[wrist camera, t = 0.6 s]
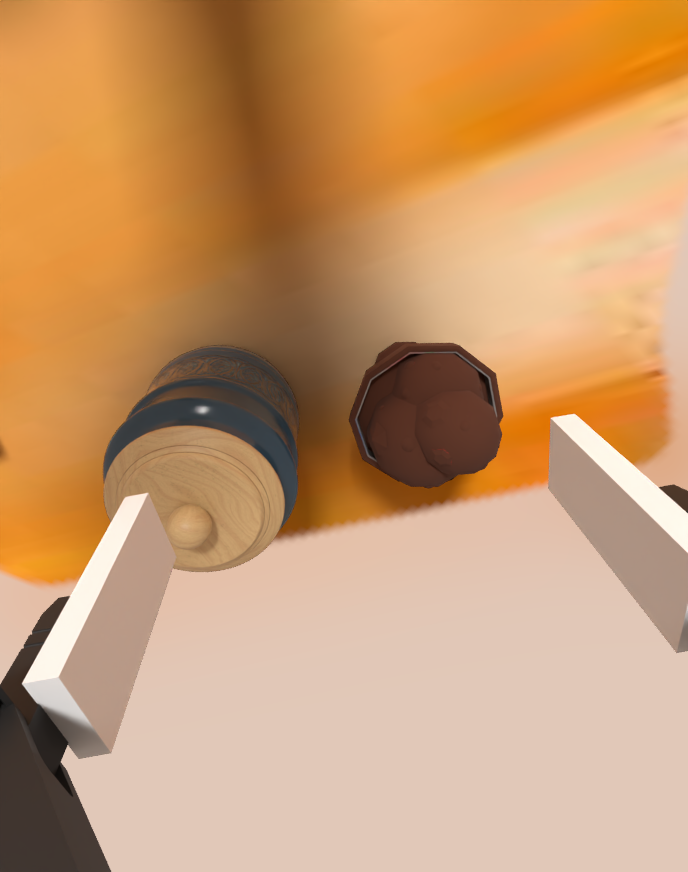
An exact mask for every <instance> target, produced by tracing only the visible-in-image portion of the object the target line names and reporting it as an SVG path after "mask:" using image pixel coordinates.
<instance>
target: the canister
mask: <svg viewBox="0 0 688 872" xmlns="http://www.w3.org/2000/svg"><path fill="white" fill-rule="evenodd" d="M298 432H299V412H298V407H297V403H296V400H295V397H294V394H293V392H292V390H291V388H290V387H289V385H288V383H287V381H286V380H285V378H284V377H283V376H282V374H281V373H280V372H279V371H278V370H277V369H276V368H275V367H274V366H273V365H272V364H271V363H269V362H268V361H267V360H265V359H264V358H262V357H261V356H259V355H257V354H255V353H253V352H250V351H248V350H245V349H242V348H238V347H233V346H224V345H215V346H206V347H201V348H198V349H195V350H192V351H189V352H187V353H185V354H182V355H180V356H179V357H177V358H175V359H174V360H172V361H171V362H170V363H168V364H167V365H166V366H165V367H164V368H163V369H162V370H161V371H160V372H159V374H158V375H157V376H156V377H155V379H154V380H153V382H152V383H151V385H150V387H149V389H148V391H147V394H146V396H144V397H143V398H142V399H141V400H140V401H139V402H138V403H137V404H136V405H135V406H134V408H133V409H132V410H131V412H130V413H129V415H128V417H127V419H126V421H125V422H124V423H123V424H122V425H121V426H120V427H119V429H118V430H117V431H116V432H115V434H114V435H113V437H112V439H111V440H110V442H109V445H108V447H107V450H106V453H105V457H104V463H103V479H104V503H105V508H106V512H107V514H108V517H109V519H110V521H111V522H112V520H113V518H114V516H115V514H116V513H117V511H118V509H119V507H120V505H121V504H122V502H123V500H124V498H125V497H128V496H133V495H139V494H144V493H149V496H150V498H151V500H152V502H153V505H154V507H155V509H156V511H157V514H158V516H159V518H160V521H161V523H162V525H163V527H164V530H165V532H166V534H167V537H168V539H169V541H170V543H171V546H172V548H173V550H174V553H175V555H176V559H175V562H174V565H173V568H174V569H178V570H183V571H191V572H212V571H220V570H225V569H229V568H232V567H236V566H238V565H241V564H243V563H245V562H247V561H249V560H251V559H253V558H254V557H256V556H257V555H259V554H260V553H261V552H262V551H263V550H265V549H266V548H267V546H269V544H270V543H271V542H272V541H273V539H274V538H275V536H276V535H277V533H278V531H279V530H280V529H281V528H282V526H283V525H284V524H285V523H286V521H287V519H288V518H289V516H290V514H291V512H292V510H293V508H294V505H295V502H296V498H297V493H298V475H297V469H298V451H297V445H296V441H297V438H298Z"/></svg>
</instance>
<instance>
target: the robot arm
mask: <svg viewBox="0 0 688 872" xmlns="http://www.w3.org/2000/svg"><path fill="white" fill-rule="evenodd" d="M548 488H549V490H550V491H551V493H552V494H553V495H554V496H555V498H556V499H557V500H558V501H559V503H560V504H561V505H562V507H563V508H564V509H565V510H566V512H567V513H568V514H569V516H570V517H571V518H572V520H573V521H574V522H575V523H576V525H577V526H578V527H579V528H580V530H581V531H582V532H583V533H584V535H585V536H586V537H587V539H588V540H589V541H590V542H591V544H592V545H593V546H594V548H595V549H596V550H597V551H598V553H599V554H600V555H601V557H602V558H603V559H604V560H605V562H606V563H607V564H608V566H609V567H610V568H611V569H612V571H613V572H614V573H615V575H616V576H617V577H618V578H619V580H620V581H621V582H622V583H623V585H624V586H625V587H626V589H627V590H628V591H629V593H630V594H631V595H632V596H633V598H634V599H635V600H636V601H637V603H638V604H639V605H640V607H641V608H642V609H643V610H644V612H645V613H646V614H647V615H648V617H649V618H650V619H651V621H652V622H653V623H654V624H655V626H656V627H657V628H658V630H659V631H660V632H661V633H662V635H663V636H664V637H665V639H666V640H667V641H668V642H669V643H670V645H671V646H672V648H673V649H674V650H675V651H676V653H679V652H685V651H688V491H687V490H685V489H682V488H680V487H678V486H676V485H668V486H663V487H657V486H656V485H655V484H653V482H651V481H650V480H649V479H648V478H647V477H646V476H645V475H644V474H642V473H641V472H640V471H639V470H638V469H637V468H636V467H634V466H633V465H632V464H631V463H630V462H629V461H628V460H627V459H625V458H624V457H623V456H622V455H621V454H620V453H619V452H617V451H616V450H615V449H614V448H613V447H612V446H611V445H609V444H608V443H607V442H606V441H605V440H604V439H603V438H602V437H600V436H599V435H598V434H597V433H596V432H595V431H594V430H592V429H591V428H590V427H589V426H588V425H587V424H586V423H584V422H583V421H582V420H581V419H580V418H579V417H578V416H577V415H575V414H570V415H565V416H559V417H554V418H551V424H550V455H549V486H548ZM175 559H176V555H175V553H174V550H173V548H172V546H171V543H170V541H169V539H168V537H167V534H166V532H165V530H164V527H163V525H162V523H161V521H160V518H159V516H158V514H157V511H156V509H155V507H154V505H153V502H152V500H151V498H150V496H149V493H144V494H139V495H133V496H128V497H125V498H124V500H123V502H122V504H121V505H120V507H119V509H118V511H117V513H116V514H115V516H114V518H113V520H112V522H111V524H110V525H109V527H108V529H107V531H106V533H105V534H104V536H103V538H102V540H101V542H100V543H99V545H98V547H97V549H96V551H95V552H94V554H93V556H92V558H91V560H90V561H89V563H88V565H87V567H86V569H85V571H84V572H83V574H82V576H81V578H80V580H79V581H78V583H77V585H76V587H75V589H74V590H73V592H72V594H71V596H67V597H61V598H58V599H57V600H56V601H55V602H54V603H53V604H52V605H51V606H50V607H49V608H48V609H47V610H46V611H45V612H44V613H43V614H42V615H41V617H40V619H39V620H38V622H37V624H36V625H35V627H34V629H33V631H32V635H30V636H29V637H28V639H27V641H26V642H25V644H24V649H21V651H20V652H19V654H18V656H17V657H16V659H15V661H14V663H13V664H12V666H11V668H10V669H9V671H8V673H7V674H6V676H5V678H4V679H3V681H2V683H1V684H0V872H111V870H110V868H109V866H108V864H107V861H106V859H105V856H104V854H103V852H102V850H101V847H100V845H99V843H98V841H97V838H96V836H95V834H94V831H93V829H92V827H91V825H90V822H89V820H88V818H87V815H86V813H85V811H84V809H83V807H82V804H81V802H80V799H79V797H78V795H77V793H76V791H75V788H74V786H73V784H72V781H71V779H70V777H69V775H68V772H67V770H66V768H65V767H64V766H63V765H62V763H61V759H62V757H63V755H64V752H65V750H66V747H67V745H69V746H70V748H71V749H72V751H73V752H74V753H75V755H76V756H77V757H78V758H79V759H81V758H86V757H92V756H98V755H103V754H109V753H111V752H112V749H113V746H114V743H115V740H116V737H117V734H118V731H119V728H120V725H121V722H122V719H123V716H124V713H125V710H126V707H127V703H128V701H129V698H130V695H131V692H132V689H133V686H134V683H135V679H136V677H137V674H138V671H139V668H140V665H141V662H142V659H143V656H144V653H145V649H146V647H147V644H148V640H149V638H150V635H151V632H152V629H153V625H154V622H155V620H156V617H157V613H158V611H159V607H160V605H161V601H162V599H163V595H164V592H165V590H166V587H167V583H168V580H169V578H170V575H171V572H172V568H173V565H174V562H175Z"/></svg>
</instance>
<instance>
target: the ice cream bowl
mask: <svg viewBox="0 0 688 872" xmlns="http://www.w3.org/2000/svg"><path fill="white" fill-rule="evenodd" d="M502 418H503V412H502V407H501V401H500V395H499V390H498V384H497V378H496V373H494V372H493V371H492V370H490V369H489V368H488V367H487V366H485V365H484V364H483V363H481V362H480V361H479V360H477V359H476V358H475V357H474V356H472V355H471V354H470V353H468V352H467V351H466V350H464V349H463V348H462V347H461V346H459V345H456V344H453V343H416V342H395V343H394V344H392V345H391V346H389V347H388V348H387V349H385V350H384V351H382V352H381V353H379V354H378V357H377V360H376V362H375V365H374V366H372V367H371V368H369V369H368V370H366V372H365V375H364V378H363V380H362V383H361V386H360V388H359V391H358V394H357V397H356V399H355V402H354V405H353V407H352V410H351V413H350V417H349V422H350V425H351V427H352V430H353V433H354V436H355V439H356V442H357V445H358V448H359V450H360V453H361V456H362V459H363V460H364V461H366V462H367V463H369V464H371V465H372V466H374V467H376V468H377V469H379V470H381V471H382V472H384V473H385V474H387V475H389V476H390V477H392V478H394V479H395V480H397V481H401V482H403V483H405V484H406V485H409V486H411V487H425V488H431V487H438V486H440V485H442V484H443V483H445V482H447V481H449V480H452V479H453V478H454V477H456V476H457V475H460V474H472V473H476V472H478V471H479V470H482V469H485V467H486V466H487V464H488V463H489V462H490V461H491V460H492V459H494V458H495V457H496V454H497V451H498V448H499V445H500V441H501V437H502V432H501V429H500V426H499V423H500V421H501V419H502Z"/></svg>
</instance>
